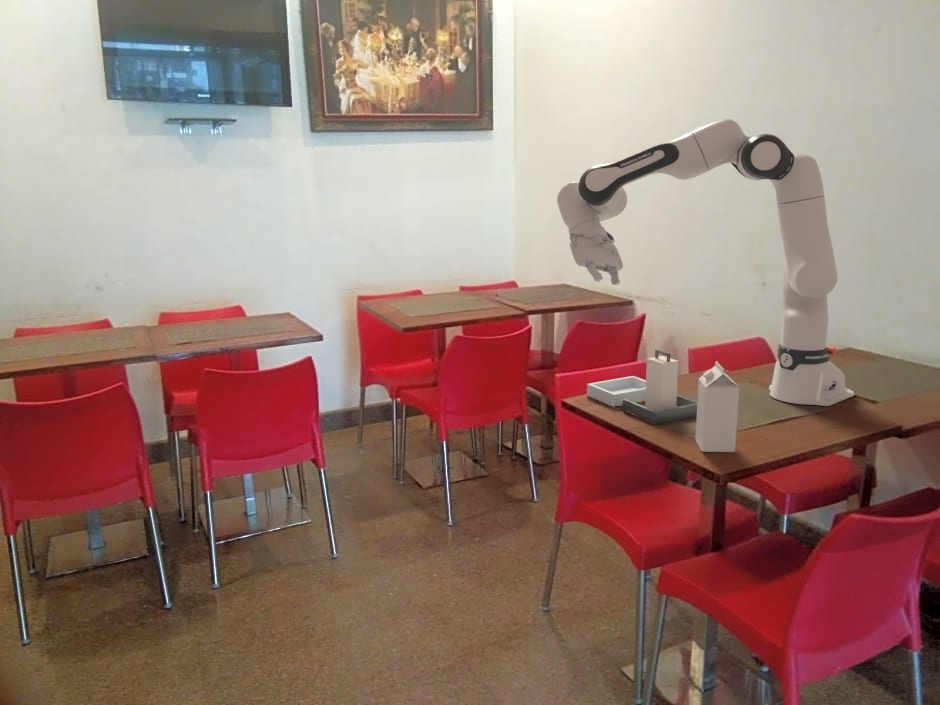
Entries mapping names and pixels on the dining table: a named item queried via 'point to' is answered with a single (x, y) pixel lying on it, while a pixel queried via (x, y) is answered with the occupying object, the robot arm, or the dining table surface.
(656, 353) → the white block with handle
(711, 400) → the milk carton
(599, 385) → the tray
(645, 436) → the dining table surface
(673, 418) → the tray
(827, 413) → the dining table surface
